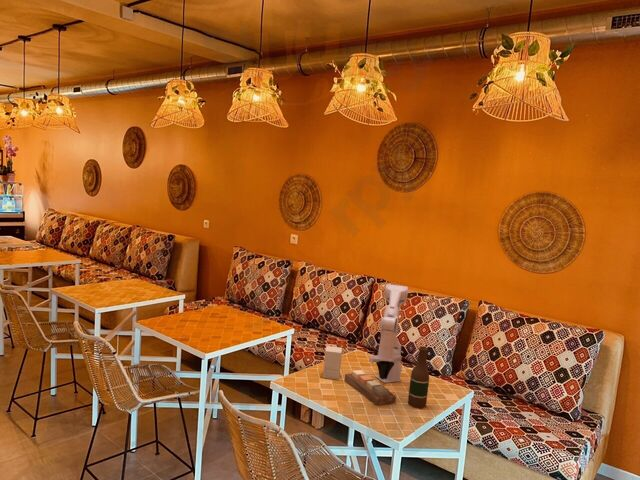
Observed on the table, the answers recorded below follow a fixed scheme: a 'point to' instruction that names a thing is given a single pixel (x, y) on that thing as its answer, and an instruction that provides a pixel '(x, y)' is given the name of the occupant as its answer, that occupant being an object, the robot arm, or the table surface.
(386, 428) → the table surface
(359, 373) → the key ivory
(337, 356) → the supplement box
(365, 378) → the key terracotta
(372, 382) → the key sage
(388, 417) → the table surface
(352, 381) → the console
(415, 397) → the beer bottle
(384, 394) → the key slate
